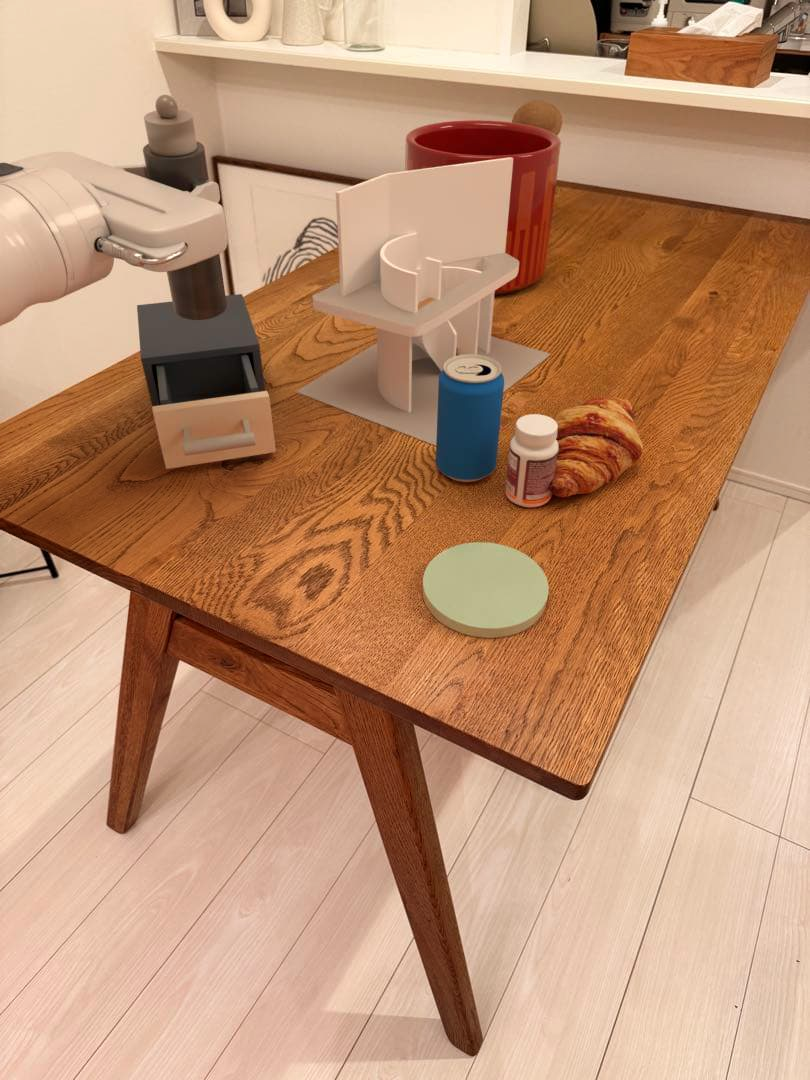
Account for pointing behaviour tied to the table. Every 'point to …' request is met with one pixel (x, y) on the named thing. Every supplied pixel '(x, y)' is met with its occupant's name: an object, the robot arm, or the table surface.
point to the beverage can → (469, 417)
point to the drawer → (211, 411)
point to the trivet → (485, 589)
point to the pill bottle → (532, 460)
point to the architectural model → (420, 289)
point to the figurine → (539, 116)
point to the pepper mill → (178, 166)
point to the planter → (529, 181)
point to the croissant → (594, 445)
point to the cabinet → (195, 339)
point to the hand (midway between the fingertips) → (186, 180)
